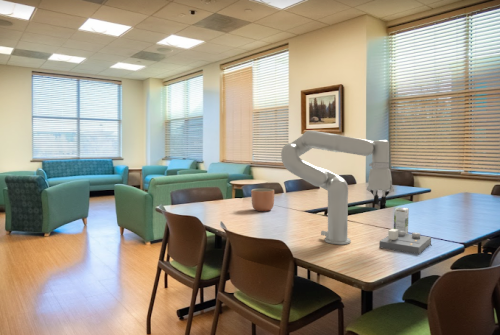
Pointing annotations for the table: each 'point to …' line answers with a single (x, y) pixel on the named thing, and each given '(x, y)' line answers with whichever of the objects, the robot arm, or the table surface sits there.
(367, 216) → the table surface
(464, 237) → the table surface
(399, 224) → the syrup box
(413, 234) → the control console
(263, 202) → the planter
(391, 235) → the fader tab
